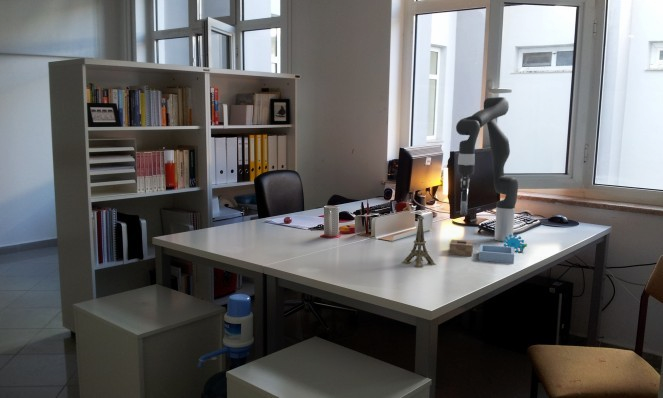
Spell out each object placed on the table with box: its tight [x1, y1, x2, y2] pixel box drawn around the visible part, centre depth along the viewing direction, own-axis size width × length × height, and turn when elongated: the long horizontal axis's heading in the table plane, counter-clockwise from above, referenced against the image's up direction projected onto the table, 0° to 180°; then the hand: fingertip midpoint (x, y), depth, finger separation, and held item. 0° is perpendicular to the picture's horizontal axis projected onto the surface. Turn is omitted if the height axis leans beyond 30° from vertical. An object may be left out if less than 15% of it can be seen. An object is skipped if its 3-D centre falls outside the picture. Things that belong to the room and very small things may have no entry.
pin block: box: [448, 239, 474, 257], centre depth 269 cm, size 10×10×5 cm
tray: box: [478, 244, 515, 264], centre depth 260 cm, size 15×15×4 cm
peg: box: [459, 188, 469, 216], centre depth 265 cm, size 3×3×12 cm
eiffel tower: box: [401, 214, 437, 269], centre depth 246 cm, size 11×11×25 cm
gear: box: [502, 233, 528, 253], centre depth 276 cm, size 11×6×10 cm
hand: (464, 200), depth 265 cm, fingers closed on peg, 3 cm apart
